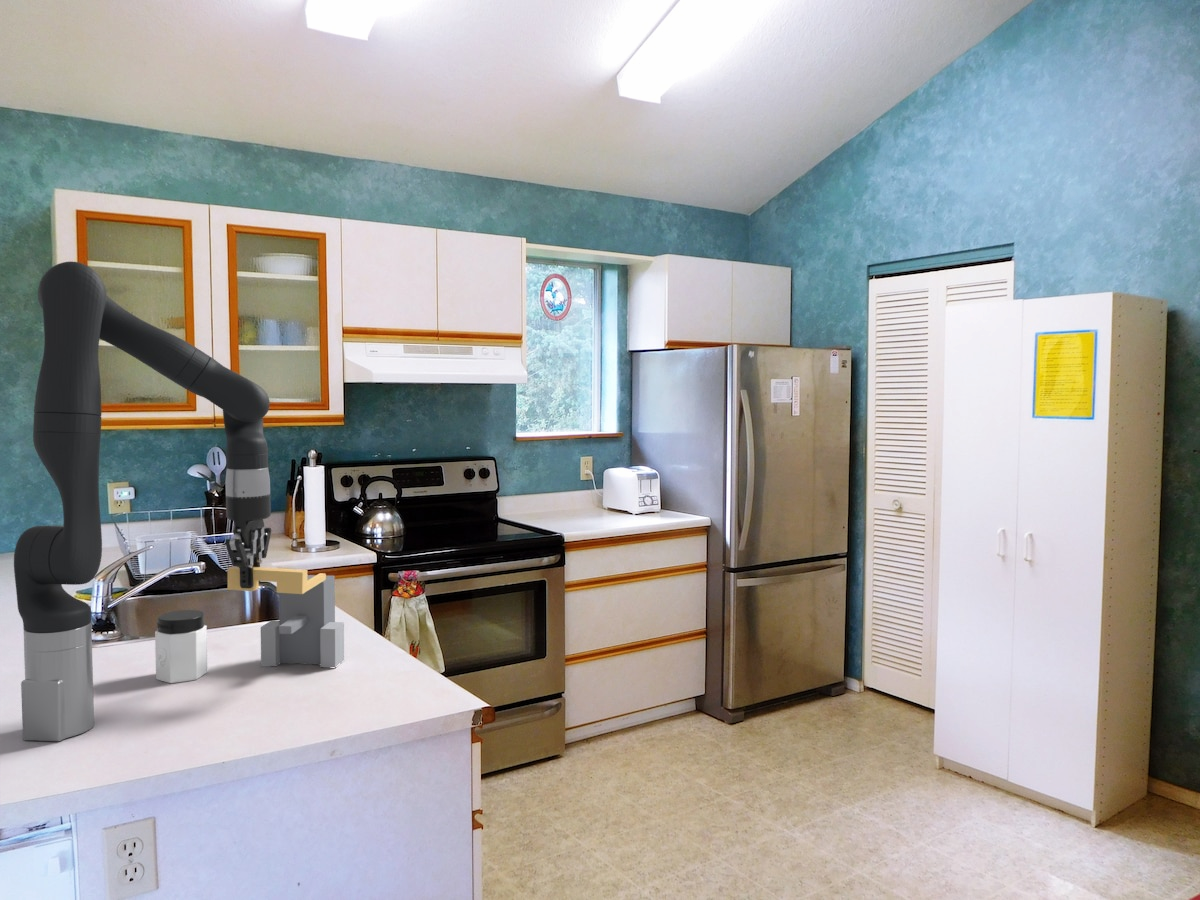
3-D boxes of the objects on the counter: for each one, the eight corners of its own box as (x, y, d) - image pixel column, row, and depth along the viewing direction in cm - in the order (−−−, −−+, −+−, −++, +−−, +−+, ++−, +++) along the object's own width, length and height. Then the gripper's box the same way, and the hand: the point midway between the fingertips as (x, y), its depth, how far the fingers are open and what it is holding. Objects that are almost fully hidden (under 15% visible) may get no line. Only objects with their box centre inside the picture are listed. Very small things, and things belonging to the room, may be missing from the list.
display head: (324, 678, 164) (323, 591, 162) (247, 675, 164) (246, 589, 163) (349, 656, 177) (348, 576, 176) (278, 654, 178) (277, 574, 177)
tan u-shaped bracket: (302, 594, 154) (302, 572, 154) (227, 589, 155) (227, 568, 155) (325, 579, 165) (326, 559, 165) (255, 575, 166) (255, 555, 166)
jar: (147, 678, 163) (146, 616, 162) (186, 666, 170) (185, 607, 169) (176, 686, 158) (175, 623, 157) (215, 674, 165) (214, 613, 164)
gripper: (250, 498, 147) (252, 596, 149) (284, 488, 161) (286, 577, 163) (208, 497, 148) (211, 595, 149) (246, 487, 161) (248, 576, 163)
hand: (250, 585), depth 156 cm, fingers closed on tan u-shaped bracket, 2 cm apart
